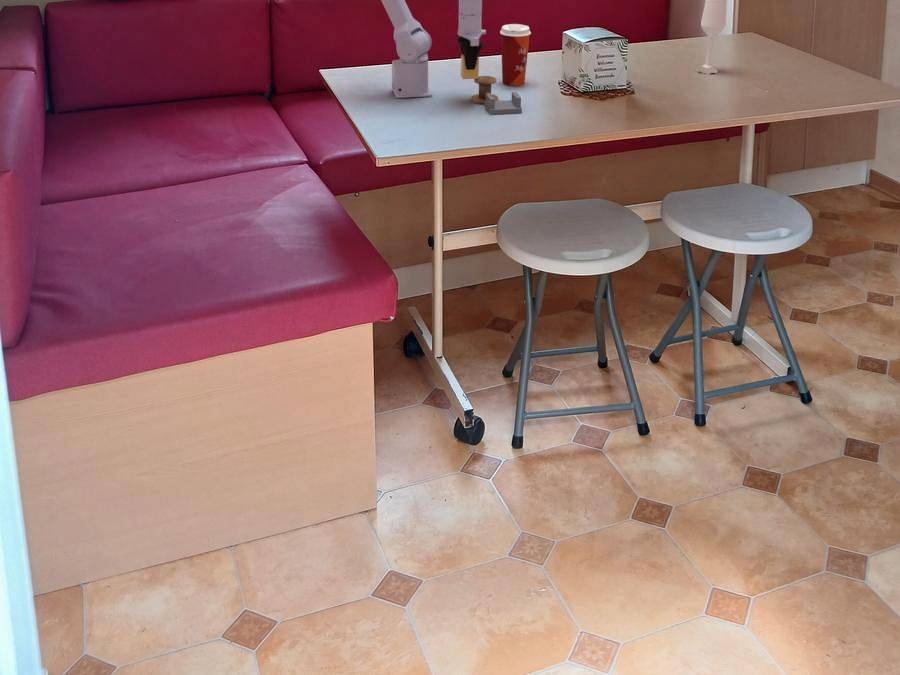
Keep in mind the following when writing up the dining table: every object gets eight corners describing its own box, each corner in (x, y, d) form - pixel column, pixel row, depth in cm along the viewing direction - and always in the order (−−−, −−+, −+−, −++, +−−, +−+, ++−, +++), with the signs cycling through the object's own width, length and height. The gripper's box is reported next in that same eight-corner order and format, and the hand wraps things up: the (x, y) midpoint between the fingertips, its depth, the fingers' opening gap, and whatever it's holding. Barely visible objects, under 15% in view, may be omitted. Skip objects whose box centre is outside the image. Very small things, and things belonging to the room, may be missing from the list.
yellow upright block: (462, 79, 264) (463, 57, 262) (460, 75, 267) (461, 54, 264) (478, 78, 265) (479, 57, 262) (476, 75, 268) (476, 54, 265)
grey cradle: (490, 114, 259) (490, 100, 257) (484, 106, 265) (484, 92, 263) (521, 113, 260) (522, 99, 258) (515, 104, 266) (515, 90, 264)
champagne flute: (695, 73, 292) (706, -15, 279) (694, 67, 297) (705, -20, 285) (719, 75, 291) (732, -14, 279) (718, 68, 296) (730, -19, 284)
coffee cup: (526, 88, 278) (528, 31, 270) (496, 86, 279) (497, 30, 272) (530, 79, 285) (533, 24, 278) (500, 77, 286) (502, 22, 279)
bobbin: (474, 105, 265) (474, 83, 262) (468, 97, 271) (469, 75, 268) (500, 103, 266) (501, 82, 263) (494, 95, 272) (495, 74, 269)
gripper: (491, 19, 252) (490, 74, 259) (480, 5, 265) (479, 59, 272) (463, 20, 251) (462, 75, 258) (453, 6, 264) (452, 60, 271)
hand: (469, 67), depth 265 cm, fingers closed on yellow upright block, 3 cm apart
